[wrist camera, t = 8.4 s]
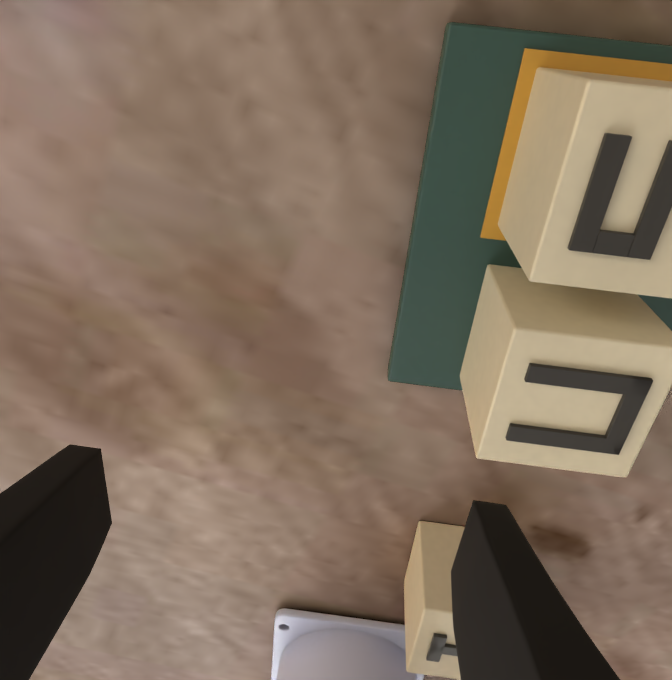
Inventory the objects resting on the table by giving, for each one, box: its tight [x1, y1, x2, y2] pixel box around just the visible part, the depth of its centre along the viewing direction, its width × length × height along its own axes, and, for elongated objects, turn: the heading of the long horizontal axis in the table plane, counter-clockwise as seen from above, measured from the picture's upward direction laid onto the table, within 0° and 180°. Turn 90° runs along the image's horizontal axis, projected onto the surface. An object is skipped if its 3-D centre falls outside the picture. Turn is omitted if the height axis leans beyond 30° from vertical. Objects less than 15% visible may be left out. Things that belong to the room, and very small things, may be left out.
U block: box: [460, 264, 672, 478], centre depth 16 cm, size 4×4×4 cm
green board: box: [388, 22, 672, 390], centre depth 17 cm, size 11×9×1 cm
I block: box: [404, 521, 465, 680], centre depth 22 cm, size 4×4×4 cm
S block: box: [498, 67, 672, 299], centre depth 13 cm, size 4×4×4 cm
